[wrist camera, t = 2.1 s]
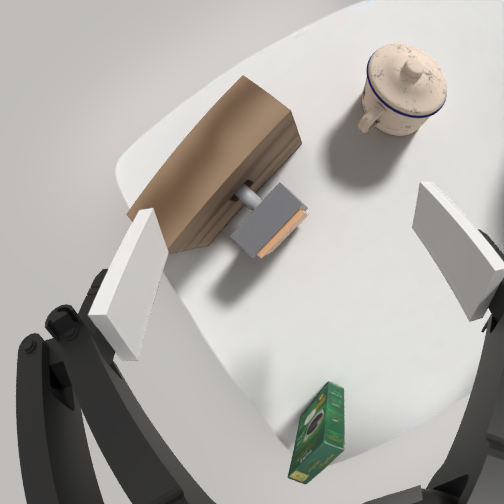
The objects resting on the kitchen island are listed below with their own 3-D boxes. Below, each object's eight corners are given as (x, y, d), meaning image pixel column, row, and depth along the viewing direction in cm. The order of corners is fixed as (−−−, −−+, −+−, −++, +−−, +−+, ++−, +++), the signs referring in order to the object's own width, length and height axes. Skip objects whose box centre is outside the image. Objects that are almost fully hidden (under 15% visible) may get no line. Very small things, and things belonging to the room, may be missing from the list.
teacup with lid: (388, 64, 32) (404, 17, 21) (437, 111, 31) (471, 77, 20) (330, 116, 35) (330, 75, 24) (381, 167, 34) (404, 145, 23)
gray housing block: (311, 211, 35) (307, 209, 27) (271, 253, 37) (256, 262, 29) (259, 163, 36) (241, 148, 28) (221, 205, 38) (195, 201, 30)
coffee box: (314, 425, 39) (305, 487, 27) (298, 418, 40) (284, 479, 27) (345, 388, 38) (348, 449, 25) (328, 379, 38) (325, 439, 26)
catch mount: (302, 143, 36) (290, 110, 24) (208, 245, 40) (162, 255, 29) (267, 114, 37) (243, 75, 25) (178, 215, 41) (126, 214, 29)
